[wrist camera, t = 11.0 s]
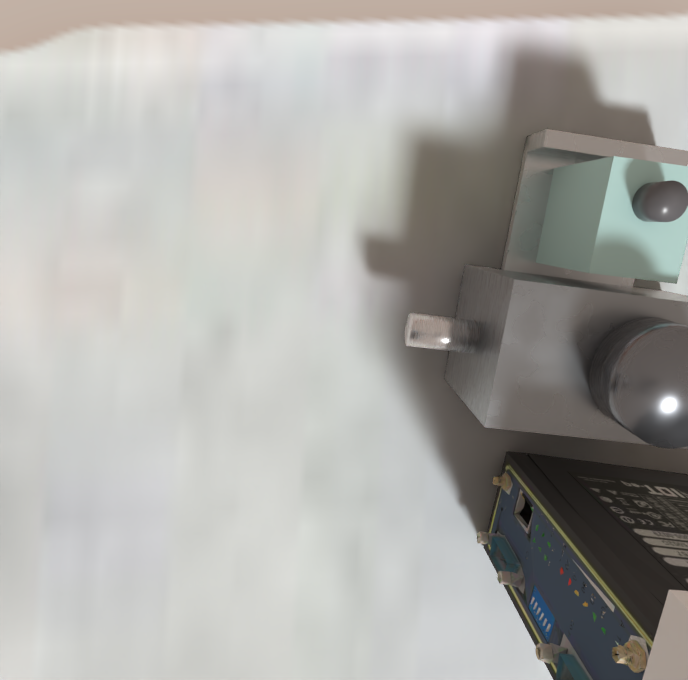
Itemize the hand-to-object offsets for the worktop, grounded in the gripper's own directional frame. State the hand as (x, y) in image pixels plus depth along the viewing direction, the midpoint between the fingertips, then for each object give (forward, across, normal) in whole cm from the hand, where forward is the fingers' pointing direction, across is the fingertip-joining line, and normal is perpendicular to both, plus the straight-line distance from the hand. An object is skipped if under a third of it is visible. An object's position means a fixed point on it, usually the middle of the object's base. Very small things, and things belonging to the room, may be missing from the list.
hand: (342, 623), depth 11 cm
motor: (+27, +14, +6) cm, 31 cm away
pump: (+26, +16, +10) cm, 32 cm away
